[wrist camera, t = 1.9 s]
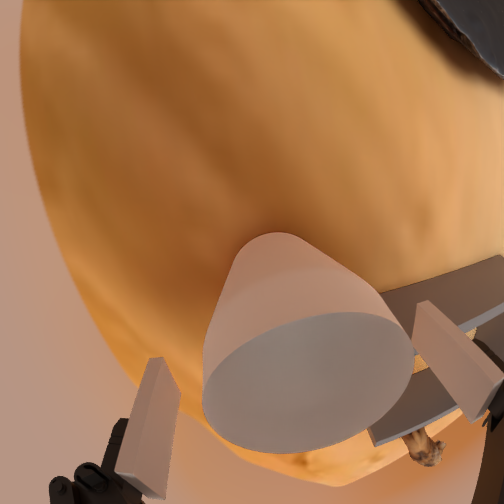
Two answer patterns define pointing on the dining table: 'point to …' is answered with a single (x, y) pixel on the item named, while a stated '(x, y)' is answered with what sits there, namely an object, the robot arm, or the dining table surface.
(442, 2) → the board
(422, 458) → the lion figurine
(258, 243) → the cup
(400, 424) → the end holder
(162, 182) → the dining table surface
